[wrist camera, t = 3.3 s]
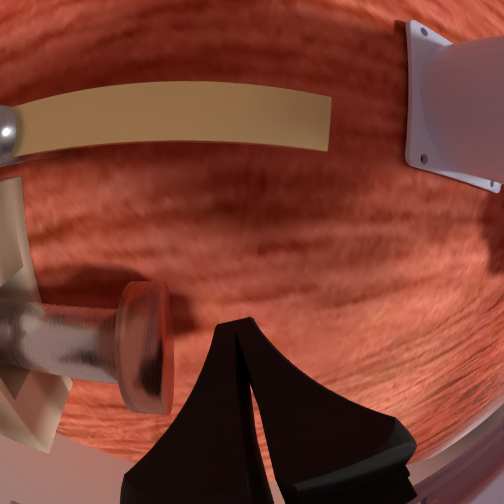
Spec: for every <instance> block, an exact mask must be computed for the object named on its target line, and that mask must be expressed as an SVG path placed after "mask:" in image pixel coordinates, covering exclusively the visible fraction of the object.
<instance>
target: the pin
mask: <svg viewBox="0 0 504 504" xmlns="http://www.w3.org/2000/svg"><path fill="white" fill-rule="evenodd" d="M0 361H2V362H5V363H8V364H12V365H16V366H19V367H23V368H27V369H31V370H35V371H40V372H44V373H49V374H54V375H59V376H64V377H70V378H76V379H82V380H89V381H96V382H104V383H112V384H119V388H120V391H121V395H122V398H123V400H124V402H125V404H126V406H127V407H128V409H129V410H130V411H131V412H134V413H145V414H160V415H169V414H170V413H171V410H172V404H173V394H174V341H173V322H172V309H171V300H170V294H169V289H168V286H167V283H166V282H139V281H131V282H129V283H128V284H127V285H126V287H125V288H124V290H123V293H122V295H121V298H120V301H119V306H118V309H114V308H97V307H82V306H69V305H58V304H47V303H37V302H28V301H20V300H12V299H4V298H0Z"/></svg>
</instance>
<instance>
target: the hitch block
mask: <svg viewBox="0 0 504 504" xmlns="http://www.w3.org/2000/svg"><path fill="white" fill-rule="evenodd" d="M0 298H4V299H12V300H20V301H28V302H37V303H42V300H41V296H40V293H39V289H38V285H37V281H36V277H35V273H34V268H33V264H32V259H31V254H30V248H29V243H28V236H27V230H26V222H25V214H24V204H23V192H22V176H19V177H13V178H7V179H1V180H0ZM72 385H73V383H72V380H71V378H70V377H64V376H59V375H54V374H49V373H44V372H40V371H35V370H31V369H27V368H23V367H19V366H16V365H12V364H8V363H5V362H2V361H0V434H1V435H3V436H5V437H7V438H10V439H12V440H14V441H17V442H19V443H22V444H24V445H27V446H29V447H32V448H35V449H37V450H40V451H43V452H46V453H49V452H50V449H51V446H52V442H53V439H54V435H55V432H56V429H57V426H58V423H59V420H60V417H61V414H62V411H63V409H64V406H65V403H66V400H67V398H68V395H69V392H70V390H71V387H72Z"/></svg>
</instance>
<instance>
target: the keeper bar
mask: <svg viewBox="0 0 504 504" xmlns="http://www.w3.org/2000/svg"><path fill="white" fill-rule="evenodd" d="M331 103H332V97H328V96H324V95H319V94H314V93H309V92H303V91H297V90H291V89H285V88H278V87H270V86H262V85H253V84H242V83H228V82H207V81H167V82H146V83H133V84H123V85H114V86H106V87H99V88H92V89H86V90H80V91H75V92H70V93H65V94H60V95H56V96H51V97H47V98H43V99H39V100H36V101H32V102H28V103H25V104H22V105H18V106H8V105H0V167H2V166H7V165H12V164H17V163H22V162H28V161H33V160H39V159H46V158H53V157H60V156H63V155H65V154H66V153H68V152H69V151H70V150H71V149H75V148H84V147H93V146H105V145H118V144H135V143H167V142H195V143H227V144H245V145H259V146H270V147H281V148H290V149H299V150H314V151H328V143H329V131H330V118H331Z"/></svg>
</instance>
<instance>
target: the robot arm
mask: <svg viewBox="0 0 504 504" xmlns="http://www.w3.org/2000/svg"><path fill="white" fill-rule="evenodd" d="M422 33H423V34H422ZM406 36H407V50H408V79H409V92H408V122H407V137H406V149H405V159H406V162H407V163H408V165H410V166H411V167H415V168H419V169H423V170H427V171H430V172H434V173H437V174H441V175H444V176H447V177H450V178H454V179H457V180H460V181H463V182H466V183H469V184H472V185H475V186H478V187H480V188H483V189H486V190H489V191H491V192H494V193H499V192H500V189H501V184H504V36H497V37H489V38H483V39H476V40H471V41H465V42H460V43H455V44H452V43H451V42H449V41H448V40H446V39H445V38H443V37H442V36H440V35H439V34H437V33H436V32H434V31H432V30H431V29H429V28H427V27H426V26H424V25H422V24H420V23H419V22H417V21H415V20H410V21H407V22H406ZM421 155H422V157H423V160H422V162H421ZM250 385H251V387H252V390H253V393H254V396H255V399H256V401H257V404H258V407H259V411H260V415H261V420H262V424H263V428H264V433H265V437H266V441H267V446H268V450H269V454H270V459H271V463H272V467H273V471H274V476H275V479H276V482H277V484H278V487H279V489H280V491H281V494H282V496H283V499H284V501H285V504H418V503H419V502H421V501H422V502H421V503H420V504H504V418H503V419H502V420H500V422H498V423H497V425H495V426H494V427H493V428H492V429H491V430H490V431H489V432H488V433H486V434H485V435H484V436H483V437H482V438H481V439H480V440H478V441H477V442H476V443H475V444H474V445H473V446H471V447H470V448H469V449H467V450H466V451H465V452H464V453H462V454H461V455H459V456H458V457H457V458H455V459H454V460H453V461H451V462H450V463H449V464H447V465H446V466H444V467H443V468H441V469H440V470H438V471H437V472H436V473H434V474H432V475H431V476H429V477H427V478H426V479H424V480H423V481H421V482H419V483H418V484H416V485H414V486H412V484H411V483H410V481H409V479H408V477H409V476H410V473H409V471H408V469H407V467H406V466H405V465H406V464H407V462H408V461H409V460H410V458H411V457H412V455H413V454H414V452H415V450H416V448H417V444H416V441H415V440H414V438H413V437H412V435H411V434H410V432H409V431H408V430H407V429H406V428H405V427H404V426H403V425H402V424H401V422H400V421H399V420H398V419H397V418H396V417H392V416H389V415H386V414H383V413H380V412H377V411H374V410H371V409H369V408H366V407H364V406H361V405H359V404H357V403H354V402H352V401H350V400H348V399H346V398H344V397H342V396H340V395H338V394H336V393H335V392H333V391H331V390H329V389H327V388H325V387H324V386H322V385H321V384H319V383H318V382H316V381H315V380H313V379H312V378H310V377H309V376H307V375H306V374H305V373H303V372H302V371H301V370H299V369H298V368H297V367H296V366H295V365H293V364H292V363H291V362H290V361H289V360H288V359H287V358H285V357H284V356H283V355H282V354H281V353H280V352H279V351H278V350H277V349H276V348H275V347H274V346H273V344H272V343H271V342H270V341H269V340H268V339H267V338H266V337H265V335H264V334H263V333H262V331H261V330H260V329H259V327H258V326H257V324H256V323H255V321H254V319H253V318H251V317H248V318H243V319H239V320H235V321H230V322H226V323H221V324H217V326H216V327H215V331H214V335H213V339H212V343H211V346H210V349H209V352H208V355H207V358H206V360H205V363H204V366H203V368H202V371H201V373H200V375H199V377H198V379H197V382H196V384H195V386H194V388H193V390H192V392H191V394H190V396H189V397H188V399H187V401H186V403H185V404H184V406H183V408H182V409H181V411H180V412H179V414H178V415H177V417H176V418H175V420H174V421H173V423H172V424H171V425H170V427H169V428H168V429H167V431H166V432H165V433H164V434H163V436H162V437H161V438H160V439H159V440H158V442H157V443H156V444H155V445H154V446H153V447H152V449H151V450H150V451H149V452H148V453H147V454H146V455H145V456H144V457H143V458H142V459H141V460H140V461H139V462H138V463H137V464H136V465H134V466H133V467H132V468H131V469H130V470H129V471H128V472H127V473H126V474H125V475H124V478H123V483H122V486H121V495H120V504H274V501H273V497H272V494H271V490H270V487H269V483H268V479H267V476H266V472H265V468H264V464H263V461H262V457H261V453H260V449H259V445H258V441H257V435H256V429H255V421H254V413H253V405H252V397H251V389H250ZM10 504H19V503H17V502H14V501H10Z"/></svg>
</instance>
